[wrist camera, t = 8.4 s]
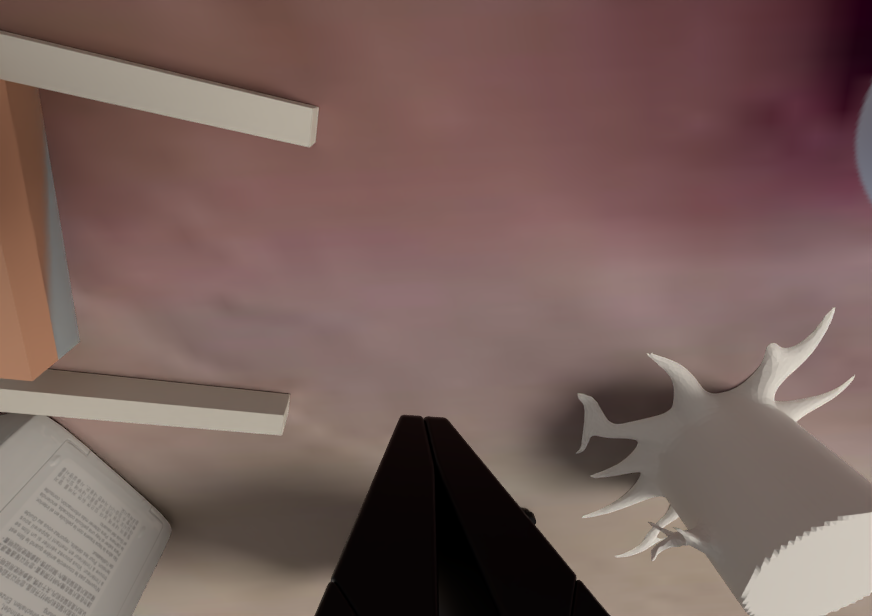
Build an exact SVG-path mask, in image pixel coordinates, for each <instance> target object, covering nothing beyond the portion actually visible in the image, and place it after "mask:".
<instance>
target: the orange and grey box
mask: <svg viewBox="0 0 872 616" xmlns="http://www.w3.org/2000/svg"><path fill="white" fill-rule="evenodd" d="M79 342H80V338H79V332H78V326H77V320H76V314H75V308H74V302H73V296H72V290H71V284H70V278H69V272H68V266H67V260H66V254H65V248H64V242H63V236H62V229H61V223H60V217H59V211H58V205H57V199H56V193H55V187H54V181H53V175H52V169H51V163H50V157H49V151H48V145H47V139H46V133H45V127H44V121H43V115H42V109H41V102H40V96H39V90H38V87H34V86H29V85H25V84H20V83H15V82H11V81H6V80H2V79H0V378H3V379H14V380H24V381H34V380H35V379H36V378H37V377H38V376H40V375H41V374H42V373H43V372H44V371H46V370H47V369H48V368H49V367H50V366H52V365H53V364H54V363H55V362H56V361H58V360H59V359H60V358H61V357H62V356H64V355H65V354H66V353H67V352H68V351H70V350H71V349H72V348H73V347H74V346H76V345H77V344H78V343H79Z"/></svg>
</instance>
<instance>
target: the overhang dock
mask: <svg viewBox="0 0 872 616" xmlns="http://www.w3.org/2000/svg"><path fill="white" fill-rule="evenodd" d="M0 79H2V80H6V81H11V82H15V83H20V84H25V85H29V86H34V87H38V88H43V89H47V90H52V91H56V92H61V93H65V94H70V95H74V96H79V97H83V98H88V99H93V100H97V101H102V102H106V103H111V104H115V105H120V106H124V107H129V108H133V109H138V110H142V111H147V112H151V113H156V114H160V115H165V116H170V117H174V118H179V119H183V120H188V121H192V122H197V123H201V124H206V125H210V126H215V127H219V128H224V129H228V130H233V131H238V132H242V133H247V134H251V135H256V136H260V137H265V138H269V139H274V140H278V141H283V142H287V143H292V144H296V145H301V146H305V147H310V146H312V145H313V144H314V143H315V142H316V132H317V122H318V112H319V107H317V106H313V105H309V104H304V103H300V102H296V101H292V100H288V99H284V98H279V97H275V96H271V95H267V94H263V93H259V92H255V91H250V90H246V89H242V88H238V87H234V86H230V85H225V84H221V83H217V82H213V81H209V80H205V79H201V78H196V77H192V76H188V75H184V74H180V73H176V72H171V71H167V70H163V69H159V68H155V67H151V66H146V65H142V64H138V63H134V62H130V61H126V60H122V59H117V58H113V57H109V56H105V55H101V54H97V53H92V52H88V51H84V50H80V49H76V48H72V47H68V46H63V45H59V44H55V43H51V42H47V41H43V40H38V39H34V38H30V37H26V36H22V35H18V34H14V33H9V32H5V31H1V30H0ZM289 401H290V394H282V393H273V392H263V391H254V390H244V389H234V388H225V387H215V386H205V385H196V384H186V383H177V382H167V381H157V380H148V379H138V378H128V377H119V376H109V375H100V374H90V373H80V372H71V371H61V370H52V369H47V370H46V371H44V372H43V373H42V374H41V375H40V376H38V377H37V378H36V379H35V380H34V381H24V380H14V379H3V378H0V412H9V413H21V414H33V415H45V416H57V417H68V418H80V419H92V420H104V421H116V422H128V423H139V424H151V425H163V426H175V427H187V428H199V429H210V430H222V431H234V432H246V433H258V434H270V435H282V434H283V430H284V427H285V423H286V420H287V416H288V411H289Z"/></svg>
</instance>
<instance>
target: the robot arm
mask: <svg viewBox="0 0 872 616" xmlns="http://www.w3.org/2000/svg"><path fill="white" fill-rule="evenodd" d="M535 524H536V519H535V516H534V514H533V513H532V512H528V511H523V510H522V509H521V508H520V507H519V505H518V504H517V503H516V502H515V501H514V499H513V498H512V497H511V496H510V494H509V493H508V492H507V491H506V490H505V488H504V487H503V486H502V485H501V484H500V482H499V481H498V480H497V479H496V477H495V476H494V475H493V474H492V473H491V471H490V470H489V469H488V468H487V467H486V465H485V464H484V463H483V462H482V461H481V459H480V458H479V457H478V456H477V454H476V453H475V452H474V451H473V450H472V448H471V447H470V446H469V445H468V444H467V442H466V441H465V440H464V439H463V438H462V436H461V435H460V434H459V433H458V431H457V430H456V429H455V428H454V427H453V425H452V424H451V423H450V422H449V421H448V420H447V419H446V418H443V417H429V416H428V417H425V418H424V419H423V418H422V417H421V416H414V415H402V416H401V417H400V418H399V421H398V423H397V425H396V428H395V430H394V432H393V435H392V437H391V439H390V442H389V444H388V446H387V449H386V451H385V453H384V456H383V458H382V460H381V463H380V465H379V467H378V470H377V472H376V474H375V477H374V479H373V481H372V484H371V486H370V488H369V491H368V493H367V495H366V498H365V500H364V502H363V505H362V507H361V509H360V512H359V514H358V516H357V519H356V521H355V523H354V526H353V528H352V530H351V533H350V535H349V537H348V540H347V542H346V544H345V547H344V549H343V551H342V554H341V556H340V558H339V561H338V563H337V565H336V568H335V570H334V572H333V575H332V577H331V582H330V583H329V584H328V586H327V588H326V590H325V593H324V595H323V597H322V600H321V602H320V604H319V607H318V609H317V611H316V614H315V616H610V615H609V614H608V613H607V611H606V610H605V609H604V608H603V607H602V606H601V604H600V603H599V602H598V601H597V600H596V598H595V597H594V596H593V595H592V593H591V592H590V591H589V590H588V589H587V587H586V586H585V585H584V584H583V583H582V581H580V580H577V581H576V575H575V573H574V572H573V571H572V570H571V568H570V567H569V566H568V565H567V564H566V562H565V561H564V560H563V559H562V557H561V556H560V555H559V554H558V553H557V551H556V550H555V549H554V548H553V547H552V545H551V544H550V543H549V542H548V540H547V539H546V538H545V537H544V536H543V534H542V533H541V532H540V531H539V530H538V528H537V527H536V526H535Z"/></svg>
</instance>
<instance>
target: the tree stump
mask: <svg viewBox="0 0 872 616" xmlns="http://www.w3.org/2000/svg"><path fill="white" fill-rule="evenodd" d="M834 312H835V307H834V308H832V309H831V311H830V312H829V313H828V314H827V315H826V316H825V317H824V319H823V320H822V322H821V323H820V324H819V326H818V327H817V328H816V329H815V330H814V331H813V332H812V333H811V334H810V335H809V336H808V337H807V338H806V339H805V340H803V341H802V342H801V343H799V344H797V345H796V346H793V347H790V348H782V347H780V346H778V345H777V344H776V343H771V344H769V345H768V347H767V348H766V352H765V355H764V358H763V361H762V363H761V365H760V366H759V367H758V369H757V370H756V371H755V372H754V373H753V374H752V375H751V376H750V377H749V378H748V379H747V380H746V381H745V382H744V383H742V384H741V385H739V386H738V387H736V388H734V389H732V390H730V391H726V392H722V393H716V394H714V393H710V392H707V391H706V390H704V388H703V387H702V386H701V385H700V384H699V382H698V381H697V380H696V379H695V377H694V376H693V375H692V374H691V373H690V372H689V371H688V370H687V369H686V368H685V367H683V366H682V365H680V364H679V363H676V362H674V361H672V360H670V359H667V358H664V357H661V356H658V355H655V354H653V353H651V354H650V355H649V353H647V355H648V356H649V357H650V358H652V359H653V360H654V361H655V362H657V364H658V365H659V366H661V367H662V368H663V369H664V370H665V371H666V372H667V374H668V375H669V376H670V378H671V380H672V382H673V387H674V398H673V405H672V407H671V409H670V410H669V411H667V412H665V413H663V414H660V415H657V416H653V417H649V418H645V419H641V420H637V421H632V422H627V423H623V424H613V423H612V422H610V421H608V420H607V418H606V416H605V415H604V413H603V412H602V410H601V408H600V406H599V405H598V402H597V401H595V399H594V398H593V397H591V396H587V395H585V394H582V393H577V394H578V398H579V400H580V401H581V402H582V403H583V405H584V411H585V414H584V426H583V435H582V442H581V443H582V446H581V447H580V449H579V451H577V452H576V453H575V454H577V453H581V452H582V451H584V450H585V448H586V446H587V444H588V442H589V439H590V438H591V437H592V436H600V437H605V438H625V439H633V440H636V441H637V442H638V444H637V446H636V448H635V449H634V451H633V452H632V453H631V454H630V455H629V456H628V457H627V458H625V459H624V460H623V461H621V462H620V463H618V464H617V465H615V466H613V467H611V468H609V469H606V470H604V471H601V472H598V473H595V474H593V475H590V477H593V478H602V477H611V476H617V475H623V474H628V473H635V472H640V477H639V479H638V480H637V482H636V483H635V484H634V486H633V487H632V488H631V489H630V490H629V491H628V492H627V493H626V494H625V495H624V496H622V497H621V498H619V499H618V500H616V501H615V502H613V503H612V504H610V505H608V506H606V507H604V508H602V509H600V510H598V511H595V512H593V513H590V514H587V515H584V516H582V518H589V517H595V516H598V515H602V514H607V513H610V512H613V511H617V510H620V509H623V508H625V507H628V506H631V505H633V504H635V503H638V502H641V501H644V500H647V499H649V498H653V497H657V496H663V497H665V498H666V499H667V500H668V502H669V503H670V507H669V509H668V511H667V513H666V514H665V515H664V516H663V517H662V518H661V519H660V520H659V521H658V522H657V523H656V524H654V523H652V522H648V523H649V524H650V525H651V526H653V527H652V529H651V530H650V531H649V532H648V534H647V535H646V537H645V538H644V540H643V541H642V542H641V544H639V545H638V546H637V547H636V548H634V549H632V550H630V551H628V552H626V553H624V554H621V555H617V556H614V557H627V556H632V555H635V554H637V553H640V552H642V551H644V550H646V549H648V548H649V547H650V546H652V545H654V544H655V543H657V542H659V541H661V540H662V541H661V542H660V543H658V544H657V545H656V546H655V547H654V548H653V549H652V550H651V561H654V560H655V558H656V556H657V555H658V554H659V553H660V552H662V551H663V550H665V549H668V548H671V547H680V546H682V545H685V546H687V545H690V546H692V547H694V548H696V549H698V550H700V551H701V552H703V553H705V554H706V556H707V557H708V559H709V560H710V562H711V563H712V564H713V566H714V567H715V569H716V570H717V572H718V573H719V574H720V576H721V577H722V579H723V580H724V582H725V583H726V584H727V586H728V587H729V589H730V590H731V592H732V593H733V594H734V596H735V597H736V599H737V600H738V602H739V603H740V604H741V606H742V607H743V609H744V610H745V611H746V612H747V613H748V614H749V615H750V616H821V615H827V614H828V613H829V612H832V611H838V610H839V609H840V608H842V607H846V606H848V605H849V604H851V603H856V601H857V600H862V599H863V597H864V596H869V595H870V593H871V592H872V482H870V481H869V480H868V479H867V478H865V477H864V476H863V475H862V474H860V473H859V472H858V471H857V470H855V469H854V468H853V467H852V466H850V465H849V464H848V463H847V462H845V461H844V460H843V459H842V458H840V457H839V456H838V455H837V454H835V453H834V452H833V451H832V450H830V449H829V448H828V447H827V446H825V445H824V444H823V443H822V442H820V441H819V440H818V439H817V438H815V437H814V436H813V435H812V434H810V433H809V432H808V431H807V430H805V429H804V428H803V427H802V426H800V425H799V424H798V423H797V421H798V420H799V419H800V418H802V417H803V416H805V415H806V414H808V413H809V412H811V411H813V410H814V409H816V408H818V407H820V406H822V405H823V404H825V403H827V402H828V401H830V400H831V399H833V398H834V397H836V396H837V395H838V394H840V393H841V392H842V391H843V390H844V389H845V388H846V387H847V386H848V385H849V384H850V383H851V382H852V380H853V379H854V377H855V375H854V376H853V377H852V378H850V379H849V380H848V381H847V382H845V383H844V384H842V385H841V386H839V387H838V388H836V389H834V390H832V391H830V392H827V393H825V394H821V395H818V396H814V397H809V398H805V399H800V400H792V401H775V400H774V396H775V393H776V391H777V389H778V387H779V386H780V385H781V383H782V382H783V381H784V380H785V379H786V378H787V377H788V376H789V375H790V374H791V373H792V372H793V371H795V370H796V369H797V368H798V367H799V366H800V365H801V364H802V363H803V362H804V361H805V360H806V359H807V358H808V357H809V356H810V355H811V354H812V352H813V351H814V350H815V348H816V347H817V345H818V344H819V342H820V341H821V339H822V337H823V336H824V334H825V332H826V331H827V329H828V327H829V324H830V322H831V320H832V318H833V315H834ZM678 517H680V519H681V520H682V522H683V523H684V524H685V526H686V527H687V529H688V530H681V529H679V528H674V527H673V528H674V529H676V530H677V531H678V532H674V533H673V532H671V531H669V530H666V529H664V527H665V526H666V525H667V524H669V523H670V522H672V521H673V520H675V519H677V518H678ZM660 531H662V532H663V533H665V534H666V535H667V536H668V537H667V538H664V539H659V538H656V537H657V535H658V533H659V532H660Z"/></svg>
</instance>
